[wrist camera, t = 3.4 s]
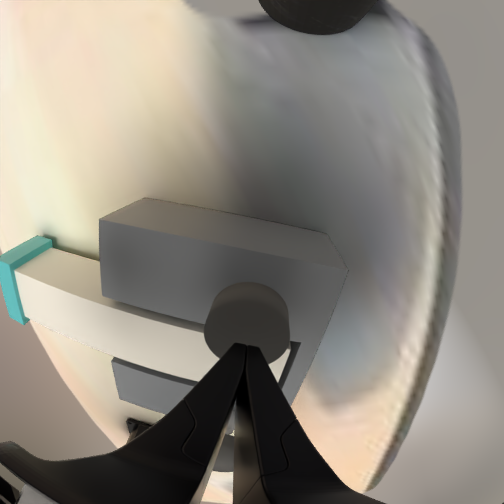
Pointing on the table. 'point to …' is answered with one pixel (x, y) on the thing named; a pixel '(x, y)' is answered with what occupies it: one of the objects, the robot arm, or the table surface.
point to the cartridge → (101, 312)
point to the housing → (213, 281)
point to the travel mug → (318, 14)
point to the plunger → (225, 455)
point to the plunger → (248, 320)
